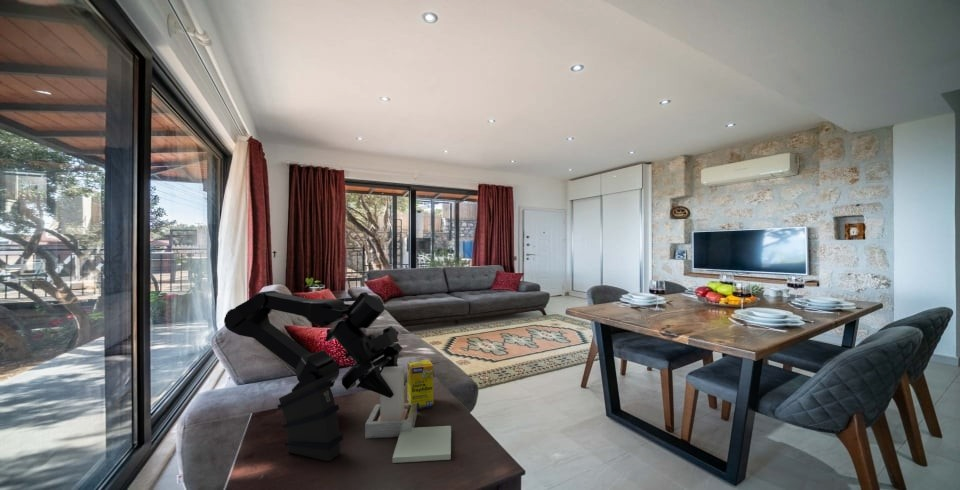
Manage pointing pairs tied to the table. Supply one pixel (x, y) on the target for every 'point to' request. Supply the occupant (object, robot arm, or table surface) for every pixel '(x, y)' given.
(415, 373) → the supplement box
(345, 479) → the table surface
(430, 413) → the table surface
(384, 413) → the plug
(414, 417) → the holder collar
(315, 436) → the black ridged block stack
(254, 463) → the table surface
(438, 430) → the sage pad
